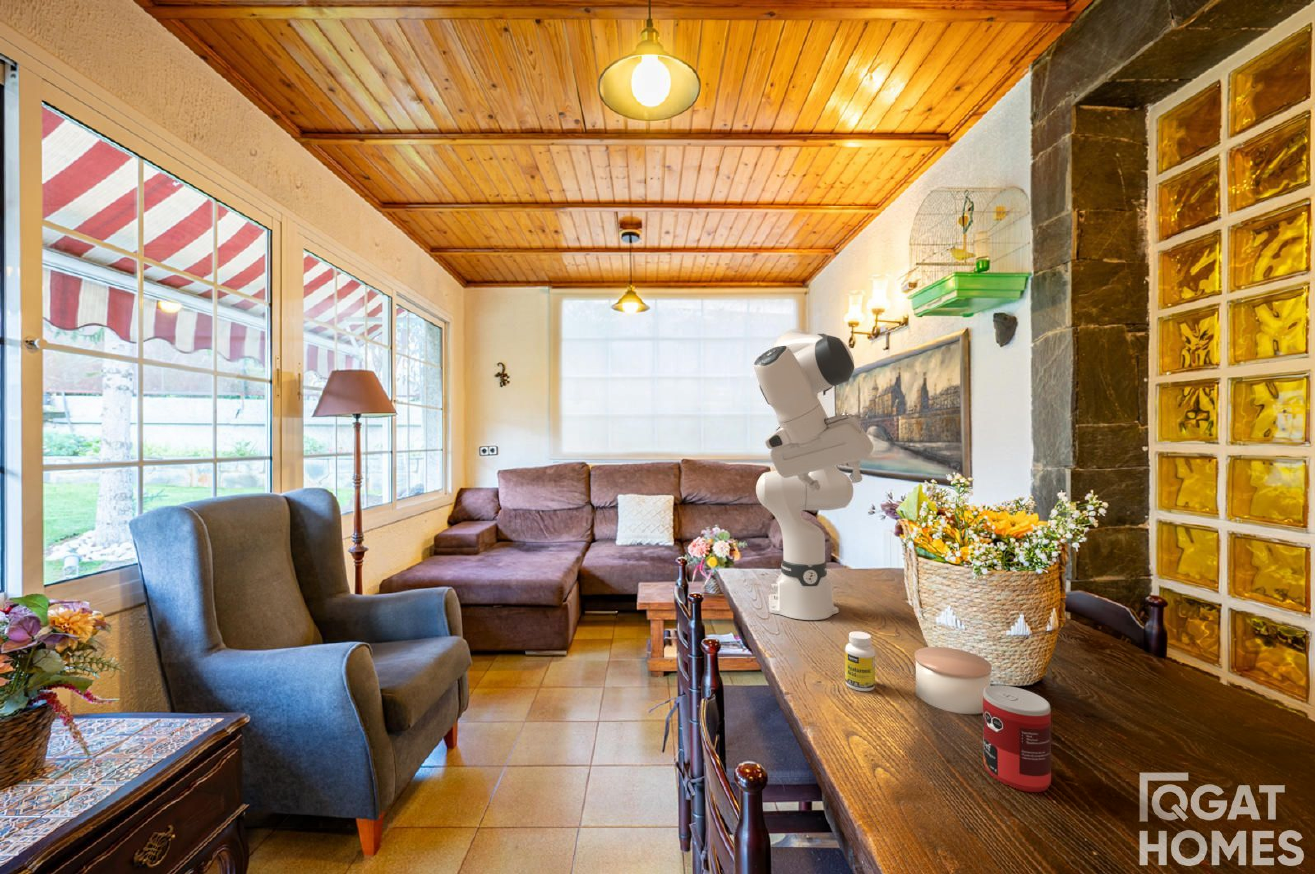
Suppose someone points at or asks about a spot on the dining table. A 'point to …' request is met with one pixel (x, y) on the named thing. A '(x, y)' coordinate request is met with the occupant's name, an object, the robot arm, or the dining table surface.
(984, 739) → the canned food
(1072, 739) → the dining table surface
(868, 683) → the supplement bottle
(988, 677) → the ceramic canister
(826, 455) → the robot arm
